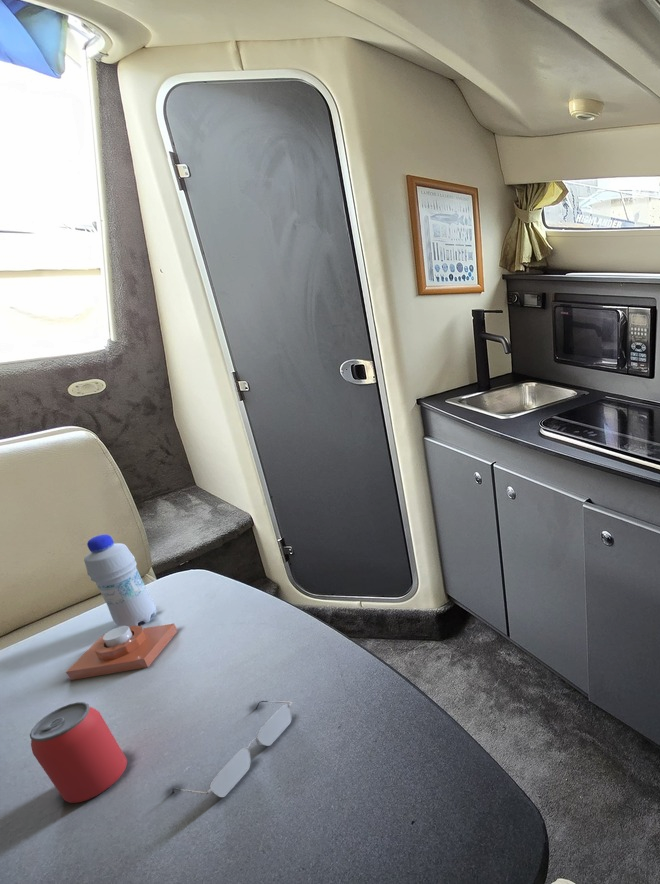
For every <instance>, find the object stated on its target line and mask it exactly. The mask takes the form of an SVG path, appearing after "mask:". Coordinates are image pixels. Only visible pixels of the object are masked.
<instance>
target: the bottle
mask: <svg viewBox="0 0 660 884" xmlns="http://www.w3.org/2000/svg"><path fill="white" fill-rule="evenodd" d="M86 545H87V548H88V550H89V551H90V552H88V553H87V554H86V555H85V556H84V557H83V562H84V565H85V569H86V572H87V576H88V577H90V580H91V581H92V582H94V583H95V585H96V586H97V588H98V590H99V592H100V594H101V596H102V599H103V600H104V602H105V604H106V606H107V608H108V611H109V614H110V616H111V619H112V620H113V623H114V624H115V625H116V626H117V627H120V626H135V625H137V626H139V624H140V623H141V622H143V623H144V624H147V623H149V622H150V621H151V618H153V617H155V616H156V614H157V606H156V603H155V601H154V599H153V597H152V596H151V594H150V592H149V590H148V589H147V588H146V585H145V583H144V580H143V579H142V576H141V574H140V573H139V570H138V568H137V564H138V563H137V561H136V558H135V556H134V554H133V553H132V552H131V550H130V549H129V548H128V546H127V545H126V544H124V543H119V542H116V543H115V542H114V539H113V538H112V536H111V535H110V534H99V535H96V536H93V537H91V538H90V539H89V540H88V541H87V543H86Z"/></svg>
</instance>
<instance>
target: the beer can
mask: <svg viewBox="0 0 660 884" xmlns="http://www.w3.org/2000/svg"><path fill="white" fill-rule="evenodd" d="M29 738H30V747H31V751H32V755H33V756H34V757H35V759H36V760H37V762H38V763H39V765H40V767H41V768H42V769H43V771H44V773H45V774H46V775H47V777H48V778H49V779H50V781H51V783H52V784H53V785H54V787H55V789H56V790H57V791H58V793H59V794H60V796H61V797H62V799H63V800H64V801H65V802H67V803H69V804H79V803H82V802H85V801H89V800H92V799H94V798H95V797H97V796H100V794H102V793H104V792H105V791H107V790H108V789H110V787H112V786H113V785H114V784H116V782H117V781H118V780H119V779H120V778H121V777H122V776H123V774H124V772H125V770H126V769H127V765H128V759H127V757H126V755H125V754H124V752H123V751H122V748H121V747H120V745H119V743H118V742H117V739H116V738H115V736H114V734H113V733H112V731H111V730H110V727H109V726H108V724H107V723H106V721H105V719H104V718H103V716H102V714H101V712H100V711H99V710H97V709H96V708H94V707H92V706H90V704H89V703H87V702H85V701H79V702H77V701H76V702H73V703H68V704H66V705H63V706H61V707H59V708H57V709H55V710H53V711H51V712H50V713H48V714H47V715H45V716H44V717H42V718H41V719H40V720H38V722H36V724H35V725H34V726H33V728H32V729H31V731H30V732H29Z"/></svg>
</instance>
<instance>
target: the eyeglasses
mask: <svg viewBox="0 0 660 884" xmlns="http://www.w3.org/2000/svg"><path fill="white" fill-rule="evenodd" d="M261 703H280V704H283V705H282V706H280V707H279V708H278V709H277V710H276V711H275V712H274V713H273V714H272V715H271V716H270V717H269V718H268V719H267V720H266V721H265V723H264V724H263V725H262V726H261V727H260V729H259V730H258V732H257V733H256V737H255V738H253V739H252V740H251V741H250V742H249V743H248V745H247V746H246V747H243V748H241V749H240V750H238V752H236V753H235V755H233V756H232V757H231V759H230V760H229V761H228V762H227V763H226V764H225V765H224V766H223V767H222V768H221V770H219V772H218V773H217V774H216V775H215V777H214V778H213V779H212V780H211V782H210V784H209V789H208V790H207V791H198V790H191V789H182V788H178V787H173V788H172V793H175V790H176V791H180V792H181V791H183V792H190V793H194V794H201V795H209V794H210V793H213V794H214V795H215V796H217V797H219V798H224V797H226V796H227V795H228V793H230V792H231V791H232V789H233V788H235V786H236V785H237V784H238V783H239V782H240V780H241V779H242V778H243V777H244V776H245V775H246V774H247V772H248V771H249V770H250V768H251V763H252V762H251V761H252V759H251V757H252V756H251V752H250V749H249V747H250V745H251V744H252V743H253V742H254V741H255V743H256V744H257V745H260V746H261V745H263V746H267V747H269V746H272V745H273V743H274V742H275V741H276V740H277V739H278V738H279V737H280V736H281V735H282V733H283V732H284V731H285V730H286V729H287V728H288V726H289V725H290V724H291V723H292V720H293V719H292V718H293V717H292V715H293V714H292V711H291V706H292V705H293V702H292V701H283V700H282V701H281V700H280V701H279V700H261V701H259V702H258V703H257V705H256V707H255V709H258V708H259V706H260V704H261Z"/></svg>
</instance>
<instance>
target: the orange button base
mask: <svg viewBox="0 0 660 884" xmlns="http://www.w3.org/2000/svg"><path fill="white" fill-rule="evenodd" d="M129 628H130V630H131V632H132V634H133V636H132V637H131V638H130V639H129V640H127V641H126V642H124V643H122V644H120V645H117V646H115V647H107V646H106V644H105V642H104V640H103V636H104V635H105V634H106V633H104V634H102V635H101V636H100V637H99V638H98V639H97V640H96V641H95V642H94V643H93V644H92V645H91V646H90V647H89V648H88V649H87V650H86V651H85V652H84V653H83V654H82V655H81V656H80V657H79V658H78V659H77V660H76V661H75V662H74V663H73V664H71V666H70V667H68V669H66V671H65V673H66V675H67V677H68V678H69V680H70V681H74V680H79V679H80V680H81V679H86V678H92V677H97V676H104V675H110V674H116V673H122V672H128V671H134V670H139V669H140V670H141V669H145V668H149V667H150V666H151V664H152V663H153V662H154V661H155V660H156V658H157V657H158V656H159V655H160V653H161V652H162V651H163V650H164V648H166V647H167V645H168V644H169V643H170V641H171V640H172V639H173V637H174V636H175V635H176V634H177V633H178V628H177V626H176V624H175V623H167V624H162V625H155V626H154V625H153V626H148V627H143V626H141V625H138V626H137V625H135V626H129Z"/></svg>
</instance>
